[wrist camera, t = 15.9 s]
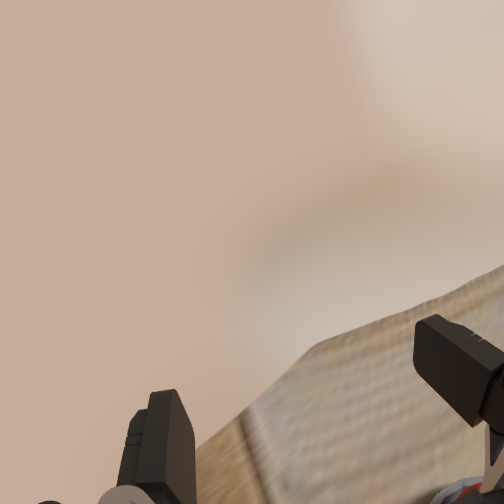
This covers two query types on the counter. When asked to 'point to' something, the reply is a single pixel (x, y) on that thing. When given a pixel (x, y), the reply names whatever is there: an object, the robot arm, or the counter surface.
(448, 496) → the grey round tray
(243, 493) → the counter surface
